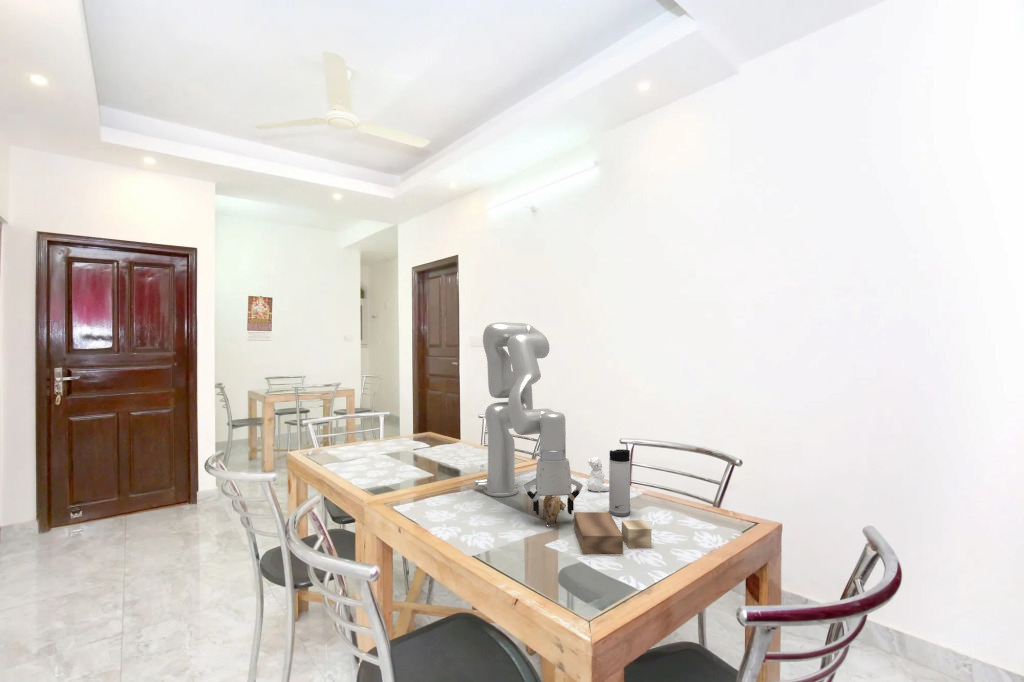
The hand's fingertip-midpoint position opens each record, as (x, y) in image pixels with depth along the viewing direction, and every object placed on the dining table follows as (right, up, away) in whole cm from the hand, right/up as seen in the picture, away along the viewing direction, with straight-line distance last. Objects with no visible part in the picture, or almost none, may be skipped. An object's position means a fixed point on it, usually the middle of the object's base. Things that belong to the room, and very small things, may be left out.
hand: (553, 513), depth 133 cm
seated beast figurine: (+19, -3, +31) cm, 36 cm away
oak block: (+21, -3, -13) cm, 25 cm away
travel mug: (+21, -3, +8) cm, 23 cm away
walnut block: (+11, -3, -12) cm, 16 cm away
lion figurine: (0, -3, +1) cm, 3 cm away
